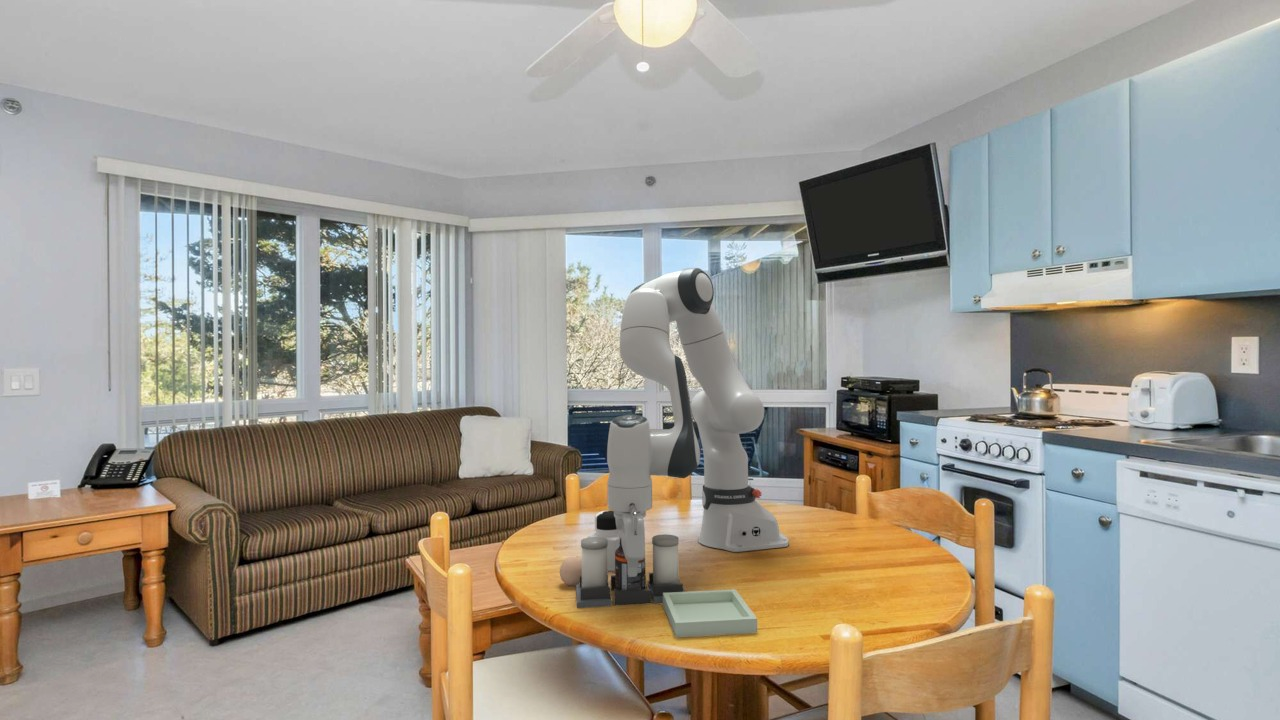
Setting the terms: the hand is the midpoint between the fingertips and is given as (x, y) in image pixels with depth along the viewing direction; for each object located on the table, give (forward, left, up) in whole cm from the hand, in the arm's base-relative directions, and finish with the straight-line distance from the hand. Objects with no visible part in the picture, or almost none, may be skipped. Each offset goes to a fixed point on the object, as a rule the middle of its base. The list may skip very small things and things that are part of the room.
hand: (630, 569), depth 126 cm
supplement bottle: (0, 0, -5) cm, 5 cm away
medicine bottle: (+3, -19, -5) cm, 20 cm away
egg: (+11, -8, -5) cm, 15 cm away
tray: (-12, +13, -5) cm, 19 cm away
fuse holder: (0, 0, -5) cm, 5 cm away
